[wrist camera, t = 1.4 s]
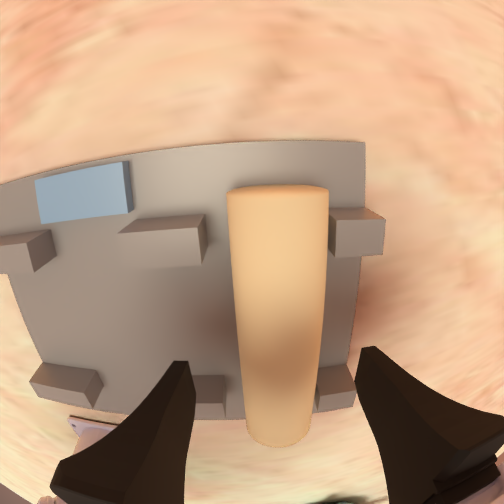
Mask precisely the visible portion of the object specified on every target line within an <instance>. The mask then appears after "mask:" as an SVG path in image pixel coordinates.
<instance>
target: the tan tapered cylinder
mask: <svg viewBox="0 0 504 504" xmlns="http://www.w3.org/2000/svg"><path fill="white" fill-rule="evenodd" d="M226 198H227V213H228V227H229V240H230V253H231V266H232V278H233V290H234V302H235V314H236V325H237V336H238V346H239V357H240V367H241V377H242V387H243V396H244V406H245V415H246V424H247V430H248V432H249V434H250V435H251V437H252V438H253V439H254V440H256V441H257V442H259V443H260V444H262V445H265V446H269V447H286V446H290V445H293V444H295V443H297V442H299V441H300V440H301V439H303V438H304V437H305V435H306V434H307V433H308V430H309V427H310V422H311V416H312V409H313V402H314V395H315V388H316V380H317V372H318V364H319V355H320V346H321V336H322V325H323V314H324V301H325V287H326V270H327V249H328V216H329V191H328V190H327V189H325V188H322V187H317V186H310V185H299V184H269V185H255V186H247V187H241V188H237V189H233V190H230V191H228V192H227V193H226Z"/></svg>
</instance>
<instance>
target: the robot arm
mask: <svg viewBox="0 0 504 504" xmlns="http://www.w3.org/2000/svg"><path fill="white" fill-rule="evenodd" d="M354 382H355V386H356V390H357V394H358V397H359V401H360V403H361V406H362V408H363V411H364V413H365V415H366V418H367V420H368V422H369V425H370V427H371V430H372V432H373V434H374V437H375V439H376V442H377V445H378V448H379V452H380V456H381V460H382V464H383V468H384V473H385V478H386V483H387V490H388V496H389V504H504V462H502V463H501V464H500V465H499V466H498V467H497V466H496V464H495V462H496V461H497V457H496V455H495V453H496V452H497V451H498V450H499V449H500V448H501V447H502V445H503V444H504V417H503V416H502V415H497V414H492V413H488V412H483V411H480V410H477V409H474V408H470V407H468V406H465V405H462V404H460V403H458V402H456V401H453V400H451V399H449V398H447V397H445V396H443V395H441V394H439V393H438V392H436V391H434V390H432V389H431V388H429V387H427V386H426V385H424V384H423V383H422V382H420V381H419V380H417V379H416V378H414V377H413V376H412V375H410V374H409V373H408V372H406V371H405V370H404V369H403V368H401V367H400V366H399V365H398V364H396V363H395V362H394V361H393V360H391V359H390V358H389V357H388V356H387V355H385V354H384V353H383V352H382V351H381V350H379V349H378V348H377V347H376V346H370V347H364V348H362V349H361V354H360V359H359V363H358V368H357V372H356V376H355V380H354ZM195 407H196V390H195V386H194V382H193V378H192V374H191V370H190V366H189V362H188V361H173V362H172V363H171V365H170V366H169V368H168V369H167V370H166V372H165V373H164V375H163V376H162V377H161V379H160V380H159V381H158V383H157V384H156V385H155V387H154V388H153V389H152V390H151V392H150V393H149V394H148V395H147V397H146V398H145V399H144V400H143V401H142V402H141V403H140V405H139V406H138V407H137V408H136V409H135V410H134V411H133V412H132V413H131V414H130V415H129V416H128V417H127V418H126V419H125V420H124V421H123V422H122V423H121V424H119V425H118V426H116V425H110V424H104V423H98V422H93V421H88V420H83V419H79V418H74V417H68V419H67V421H68V422H69V424H70V425H71V427H72V428H73V429H74V431H75V432H76V434H77V435H78V436H79V440H78V443H77V445H76V448H75V450H74V453H73V455H72V456H70V457H68V458H65V459H63V460H61V461H60V462H59V464H58V466H57V468H56V470H55V473H54V476H53V478H52V481H51V484H50V489H51V490H52V492H53V493H54V494H56V495H57V496H56V497H55V498H52V497H50V496H46V497H41V498H40V499H39V501H38V503H37V504H184V482H185V466H186V458H187V452H188V447H189V442H190V437H191V432H192V427H193V422H194V417H195Z"/></svg>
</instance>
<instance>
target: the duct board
mask: <svg viewBox="0 0 504 504" xmlns="http://www.w3.org/2000/svg"><path fill="white" fill-rule="evenodd" d="M269 184H299V185H310V186H317V187H322V188H325V189H327V190H328V191H329V216H328V249H327V270H326V287H325V301H324V314H323V325H322V336H321V346H320V355H319V364H318V372H317V380H316V388H315V395H314V402H313V409H312V413H319V412H326V411H333V410H337V409H343V408H348V407H353V404H354V400H355V397H356V393H357V390H356V386H355V383H354V381H353V379H352V376H351V374H350V372H349V369H348V367H347V365H346V364H347V358H348V353H349V347H350V341H351V335H352V329H353V322H354V316H355V308H356V301H357V293H358V284H359V275H360V265H361V256H371V255H383V246H384V235H385V223H386V219H385V218H383V217H381V216H379V215H378V214H376V213H374V212H372V211H371V210H369V209H367V208H365V143H364V142H344V141H258V142H238V143H222V144H210V145H198V146H188V147H179V148H171V149H163V150H155V151H148V152H141V153H135V154H129V155H123V156H117V157H111V158H106V159H101V160H95V161H91V162H86V163H81V164H76V165H72V166H68V167H63V168H59V169H55V170H51V171H47V172H43V173H40V174H36V175H32V176H29V177H25V178H22V179H18V180H15V181H12V182H8V183H5V184H2V185H0V274H8V277H9V280H10V283H11V286H12V289H13V292H14V295H15V298H16V301H17V304H18V306H19V309H20V312H21V314H22V317H23V319H24V322H25V324H26V326H27V329H28V331H29V333H30V336H31V338H32V340H33V342H34V345H35V347H36V349H37V351H38V353H39V355H40V357H41V359H42V361H43V363H42V364H41V365H40V367H39V368H38V370H37V371H36V372H35V374H34V375H33V377H32V378H31V379H30V381H29V382H30V384H31V386H32V387H33V389H34V391H35V392H36V394H37V395H38V397H41V398H44V399H48V400H52V401H56V402H61V403H65V404H68V405H73V406H78V407H83V408H88V409H94V410H99V411H106V412H112V413H119V414H127V415H130V414H131V413H132V412H133V411H134V410H135V409H136V408H137V407H138V406H139V405H140V403H141V402H142V401H143V400H144V399H145V398H146V397H147V395H148V394H149V393H150V392H151V390H152V389H153V388H154V387H155V385H156V384H157V383H158V381H159V380H160V379H161V377H162V376H163V375H164V373H165V372H166V370H167V369H168V368H169V366H170V365H171V363H172V362H173V361H188V362H189V366H190V370H191V374H192V378H193V382H194V386H195V390H196V407H195V417H194V420H239V419H246V415H245V406H244V396H243V387H242V377H241V367H240V357H239V346H238V336H237V325H236V314H235V302H234V290H233V278H232V266H231V253H230V240H229V227H228V213H227V198H226V193H227V192H228V191H230V190H233V189H237V188H241V187H247V186H255V185H269Z"/></svg>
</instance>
